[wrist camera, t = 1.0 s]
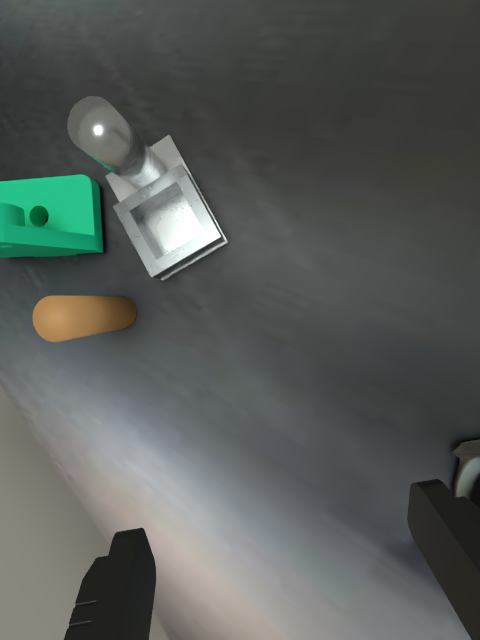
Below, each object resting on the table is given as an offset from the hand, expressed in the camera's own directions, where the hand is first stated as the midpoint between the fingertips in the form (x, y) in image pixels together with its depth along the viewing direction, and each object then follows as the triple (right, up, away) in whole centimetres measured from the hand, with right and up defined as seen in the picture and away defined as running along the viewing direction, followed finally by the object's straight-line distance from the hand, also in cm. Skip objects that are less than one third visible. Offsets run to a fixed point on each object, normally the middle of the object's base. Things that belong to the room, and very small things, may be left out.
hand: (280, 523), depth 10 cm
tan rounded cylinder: (-14, +7, +27) cm, 32 cm away
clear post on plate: (-9, +18, +26) cm, 32 cm away
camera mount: (-22, +17, +28) cm, 39 cm away
